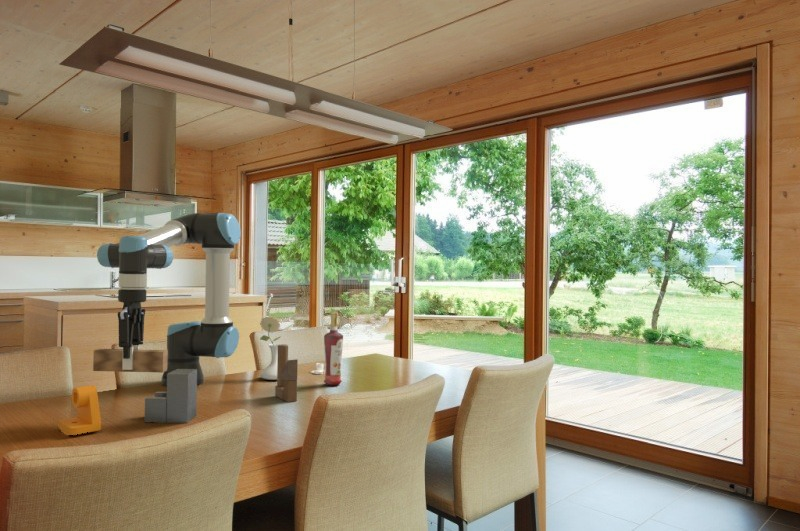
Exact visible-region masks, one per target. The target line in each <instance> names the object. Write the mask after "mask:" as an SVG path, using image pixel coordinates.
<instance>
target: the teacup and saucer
mask: <svg viewBox="0 0 800 531" xmlns="http://www.w3.org/2000/svg"><path fill="white" fill-rule="evenodd" d="M315 365H316V366H315V367H316V370H312V371H310V373H311V374H314V375H325V369H324V367H325V363H323V362H317V363H316V364H315ZM323 372H324V373H323Z"/></svg>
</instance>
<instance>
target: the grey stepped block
mask: <svg viewBox="0 0 800 531" xmlns="http://www.w3.org/2000/svg"><path fill="white" fill-rule="evenodd" d="M197 397H198V385H197V369H176V370H174V371H172V372H170V373H168V374H167V386H166V391H156V392H154V397H152V396H146V397H145V398H144V423H145V422H159V423H158V424H168V423H169V424H173V423H175V424H177V423H178V424H188V423H189V422H191V421H192V420H193V419H194V418H195V417H197V407H198V406H197V404H198V403H197V402H198V401H197V399H198V398H197Z"/></svg>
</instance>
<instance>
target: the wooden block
mask: <svg viewBox="0 0 800 531" xmlns="http://www.w3.org/2000/svg"><path fill="white" fill-rule="evenodd" d="M280 344H281V345H278V354H277V361H278V362H277V380H276V385H275V387H274V388H275V390H274V393H275V394H274V395H275V396H276V397H277V398H279V399H280V400H283V401H285V402H286V403H294V402H297V400H298V365H299V364H298V362H299V361H298V358H297V359H289V344H285V343H284V344H282V343H280Z"/></svg>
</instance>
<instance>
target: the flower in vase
mask: <svg viewBox="0 0 800 531" xmlns="http://www.w3.org/2000/svg"><path fill="white" fill-rule="evenodd" d="M259 326H261V328H262V330H263V331H265V332H267V333H268V336H267V335H262V336H261V337H260V339H259V340H262V341H265V342H267V341H269V340H270V341H271V343H269V344H268V347H269V349H270V353H271V361H270V363H269V364H268V365H267V366H266V367H265V368H264V369H263V370H262V371H261V372H260V373H259V378H262V379H264V380H269V381H277V362H278V345H281V344H282V343H274V342H276V341H277V340H279V339H280V338H281V336H282V335H280V336H278V337H275V338H274V339H273V340H272V339H271V337H270V333H271V334H273V333H276V332H278V331H279V330H280V329H281V323H280V321H279V320H278V319H277V318H275V317H274V316H270V315H269V316H265V317H262V318H261V320H260V324H259Z"/></svg>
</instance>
